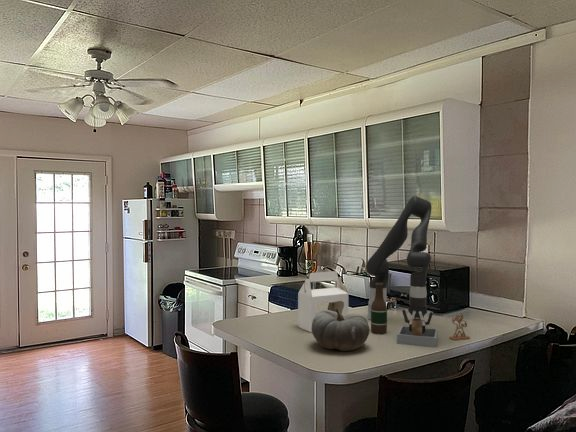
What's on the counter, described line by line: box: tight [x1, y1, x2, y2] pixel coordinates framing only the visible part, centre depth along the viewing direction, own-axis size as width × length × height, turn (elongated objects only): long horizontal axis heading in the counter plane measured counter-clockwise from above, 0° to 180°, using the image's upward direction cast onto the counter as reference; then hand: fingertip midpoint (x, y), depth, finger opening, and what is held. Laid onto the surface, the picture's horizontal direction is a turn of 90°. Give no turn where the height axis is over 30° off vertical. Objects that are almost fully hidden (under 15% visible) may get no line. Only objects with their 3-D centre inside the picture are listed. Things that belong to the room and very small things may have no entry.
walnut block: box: [412, 318, 423, 336], centre depth 225 cm, size 4×4×7 cm
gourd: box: [311, 308, 371, 352], centre depth 215 cm, size 25×25×17 cm
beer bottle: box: [370, 283, 388, 335], centre depth 239 cm, size 8×8×24 cm
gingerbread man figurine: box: [448, 312, 471, 341], centre depth 229 cm, size 9×4×12 cm, turn 112°
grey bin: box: [396, 325, 439, 348], centre depth 225 cm, size 17×17×4 cm
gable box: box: [297, 270, 349, 334], centre depth 248 cm, size 22×13×28 cm, turn 118°
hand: (417, 332), depth 226 cm, fingers closed on walnut block, 4 cm apart
